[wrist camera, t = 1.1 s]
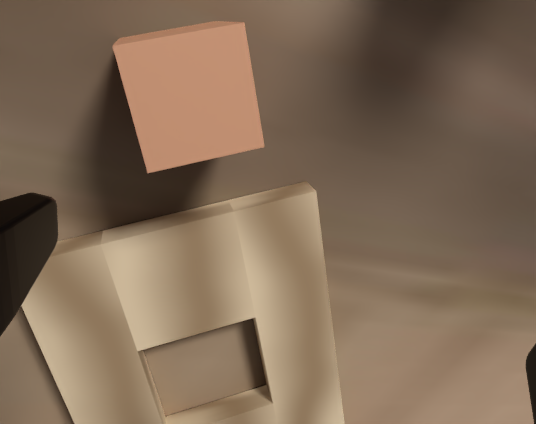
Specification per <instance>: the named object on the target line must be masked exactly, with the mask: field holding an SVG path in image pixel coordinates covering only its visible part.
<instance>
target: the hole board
mask: <svg viewBox="0 0 536 424" xmlns="http://www.w3.org/2000/svg"><path fill="white" fill-rule="evenodd" d="M21 306H22V308H23V311H24V313H25V315H26V317H27V319H28V322H29V324H30V326H31V328H32V331H33V333H34V335H35V337H36V339H37V342H38V344H39V346H40V348H41V351H42V353H43V355H44V357H45V359H46V362H47V364H48V366H49V368H50V370H51V373H52V375H53V377H54V379H55V382H56V384H57V386H58V388H59V390H60V393H61V395H62V397H63V399H64V402H65V404H66V406H67V408H68V410H69V413H70V415H71V417H72V419H73V422H74V424H344V416H343V408H342V400H341V392H340V384H339V375H338V367H337V359H336V351H335V342H334V334H333V326H332V318H331V310H330V301H329V293H328V285H327V277H326V269H325V260H324V252H323V244H322V236H321V227H320V219H319V211H318V203H317V195H316V191H315V190H314V189H313V188H312V187H311V186H310V185H309V184H308V183H307V182H306V181H305V182H301V183H297V184H293V185H289V186H284V187H280V188H276V189H272V190H268V191H264V192H260V193H256V194H251V195H247V196H243V197H239V198H235V199H231V200H227V201H223V202H219V203H214V204H210V205H206V206H202V207H198V208H194V209H190V210H186V211H181V212H177V213H173V214H169V215H165V216H161V217H157V218H153V219H148V220H144V221H140V222H136V223H132V224H128V225H124V226H120V227H116V228H111V229H107V230H103V231H99V232H95V233H91V234H87V235H83V236H78V237H74V238H70V239H66V240H62V241H58V242H57V243H56V246H55V248H54V250H53V252H52V254H51V255H50V257H49V259H48V261H47V262H46V264H45V266H44V267H43V269H42V271H41V273H40V274H39V276H38V278H37V279H36V281H35V283H34V285H33V286H32V288H31V290H30V291H29V293H28V295H27V297H26V298H25V300H24V302H23V303H22V305H21ZM251 318H253V322H254V327H255V332H256V337H257V342H258V346H259V351H260V356H261V361H262V366H263V371H264V375H265V380H266V385H265V386H261V387H258V388H255V389H252V390H249V391H246V392H242V393H239V394H236V395H233V396H230V397H226V398H223V399H220V400H217V401H214V402H211V403H207V404H204V405H201V406H198V407H195V408H191V409H188V410H185V411H182V412H179V413H176V414H172V415H169V416H165V413H164V410H163V407H162V405H161V402H160V399H159V396H158V393H157V390H156V387H155V384H154V381H153V378H152V375H151V372H150V369H149V366H148V363H147V360H146V357H145V354H144V351H143V350H144V349H147V348H151V347H154V346H158V345H161V344H165V343H168V342H172V341H175V340H179V339H182V338H185V337H189V336H192V335H196V334H199V333H203V332H206V331H210V330H213V329H217V328H220V327H224V326H227V325H231V324H234V323H237V322H241V321H244V320H248V319H251Z"/></svg>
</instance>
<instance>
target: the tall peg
mask: <svg viewBox="0 0 536 424" xmlns="http://www.w3.org/2000/svg"><path fill="white" fill-rule="evenodd" d="M113 50H114V53H115V57H116V61H117V64H118V68H119V71H120V75H121V79H122V82H123V86H124V89H125V93H126V97H127V100H128V104H129V108H130V111H131V115H132V118H133V122H134V126H135V129H136V133H137V136H138V140H139V144H140V147H141V151H142V154H143V158H144V162H145V165H146V169H147V173H151V172H156V171H160V170H165V169H169V168H173V167H178V166H182V165H187V164H191V163H195V162H200V161H204V160H209V159H213V158H218V157H222V156H226V155H231V154H235V153H240V152H244V151H249V150H253V149H257V148H262V147H265V146H264V140H263V134H262V128H261V122H260V116H259V110H258V104H257V97H256V91H255V85H254V79H253V73H252V67H251V61H250V55H249V48H248V42H247V36H246V30H245V24H244V22H221V21H214V22H208V23H203V24H197V25H191V26H186V27H180V28H174V29H169V30H163V31H157V32H152V33H146V34H140V35H135V36H129V37H123V38H119V39H118V40H117V41H116V43H115V44H114V45H113Z"/></svg>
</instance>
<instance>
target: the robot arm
mask: <svg viewBox="0 0 536 424" xmlns="http://www.w3.org/2000/svg"><path fill="white" fill-rule="evenodd" d="M57 239H58V220H57V204H56V201H55V200H54V199H53V198H52V197H49V196H45V195H41V194H37V193H27V194H24V195H20V196H17V197H13V198H10V199H6V200H3V201H0V336H1V335H2V333H3V332H4V331H5V329H6V328H7V326H8V325H9V324H10V322H11V321H12V319H13V318H14V316H15V315H16V313H17V312H18V310H19V308H20V307H21V305H22V303H23V302H24V300H25V298H26V297H27V295H28V293H29V291H30V290H31V288H32V286H33V285H34V283H35V281H36V279H37V278H38V276H39V274H40V273H41V271H42V269H43V267H44V266H45V264H46V262H47V261H48V259H49V257H50V255H51V254H52V252H53V250H54V248H55V246H56V243H57ZM526 373H527V379H528V386H529V392H530V399H531V406H532V412H533V419H534V424H536V344H535V345H534V347H533V348H532V349H531V351H530V352H529V354H528V356H527V359H526Z"/></svg>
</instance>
